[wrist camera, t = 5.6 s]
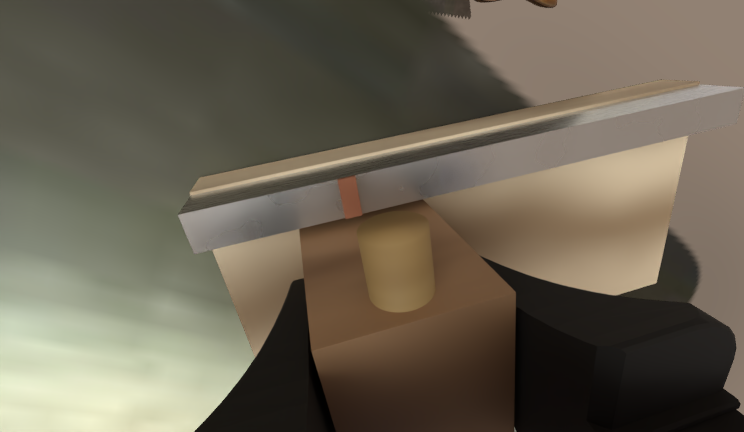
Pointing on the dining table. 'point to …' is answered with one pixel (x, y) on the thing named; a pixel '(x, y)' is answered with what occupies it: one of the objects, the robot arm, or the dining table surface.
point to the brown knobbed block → (408, 325)
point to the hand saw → (458, 3)
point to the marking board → (477, 192)
